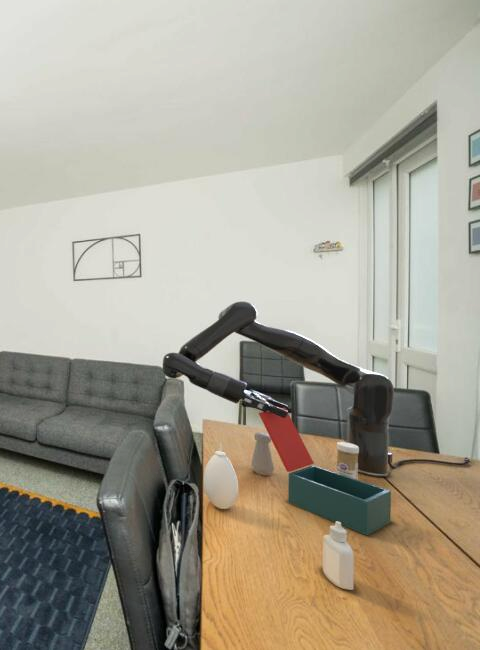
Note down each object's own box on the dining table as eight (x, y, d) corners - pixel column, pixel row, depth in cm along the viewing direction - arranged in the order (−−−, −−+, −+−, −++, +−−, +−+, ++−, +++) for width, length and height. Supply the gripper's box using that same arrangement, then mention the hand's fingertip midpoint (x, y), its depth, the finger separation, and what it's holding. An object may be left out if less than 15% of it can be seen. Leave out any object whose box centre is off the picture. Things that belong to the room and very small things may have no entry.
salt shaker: (278, 477, 114) (278, 437, 114) (257, 476, 115) (258, 436, 115) (266, 469, 120) (267, 431, 120) (247, 467, 121) (247, 430, 121)
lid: (285, 407, 111) (282, 407, 112) (261, 412, 106) (258, 413, 107) (314, 463, 105) (311, 463, 105) (290, 471, 100) (287, 471, 100)
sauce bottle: (231, 501, 101) (232, 439, 100) (243, 517, 93) (243, 450, 93) (200, 497, 103) (200, 436, 103) (208, 512, 96) (208, 446, 96)
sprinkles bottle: (334, 487, 108) (335, 443, 108) (338, 482, 111) (338, 440, 110) (356, 493, 104) (357, 448, 104) (359, 489, 107) (360, 445, 107)
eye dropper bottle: (321, 581, 72) (322, 523, 72) (322, 567, 76) (323, 512, 76) (353, 594, 69) (354, 533, 69) (352, 578, 73) (353, 521, 73)
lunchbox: (390, 522, 91) (391, 490, 91) (366, 535, 86) (367, 501, 86) (312, 492, 105) (312, 465, 105) (288, 502, 100) (288, 473, 100)
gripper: (227, 379, 112) (292, 405, 102) (233, 374, 123) (293, 397, 112) (217, 400, 114) (281, 428, 104) (224, 393, 124) (282, 418, 114)
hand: (287, 412), depth 108 cm, fingers open, 8 cm apart
